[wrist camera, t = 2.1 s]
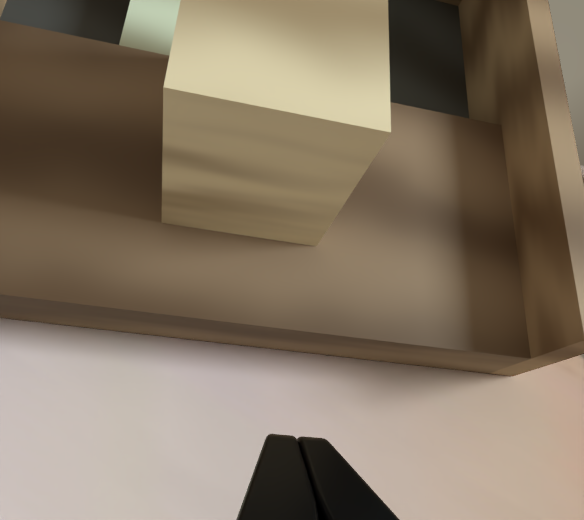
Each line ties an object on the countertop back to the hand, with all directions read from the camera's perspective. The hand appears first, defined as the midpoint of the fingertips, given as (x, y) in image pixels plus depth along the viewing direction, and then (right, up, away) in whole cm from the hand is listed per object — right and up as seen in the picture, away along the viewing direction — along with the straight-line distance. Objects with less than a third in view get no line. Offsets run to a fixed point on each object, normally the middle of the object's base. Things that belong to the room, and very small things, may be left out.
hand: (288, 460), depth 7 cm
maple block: (-2, +7, +15) cm, 16 cm away
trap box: (-2, +11, +19) cm, 22 cm away
